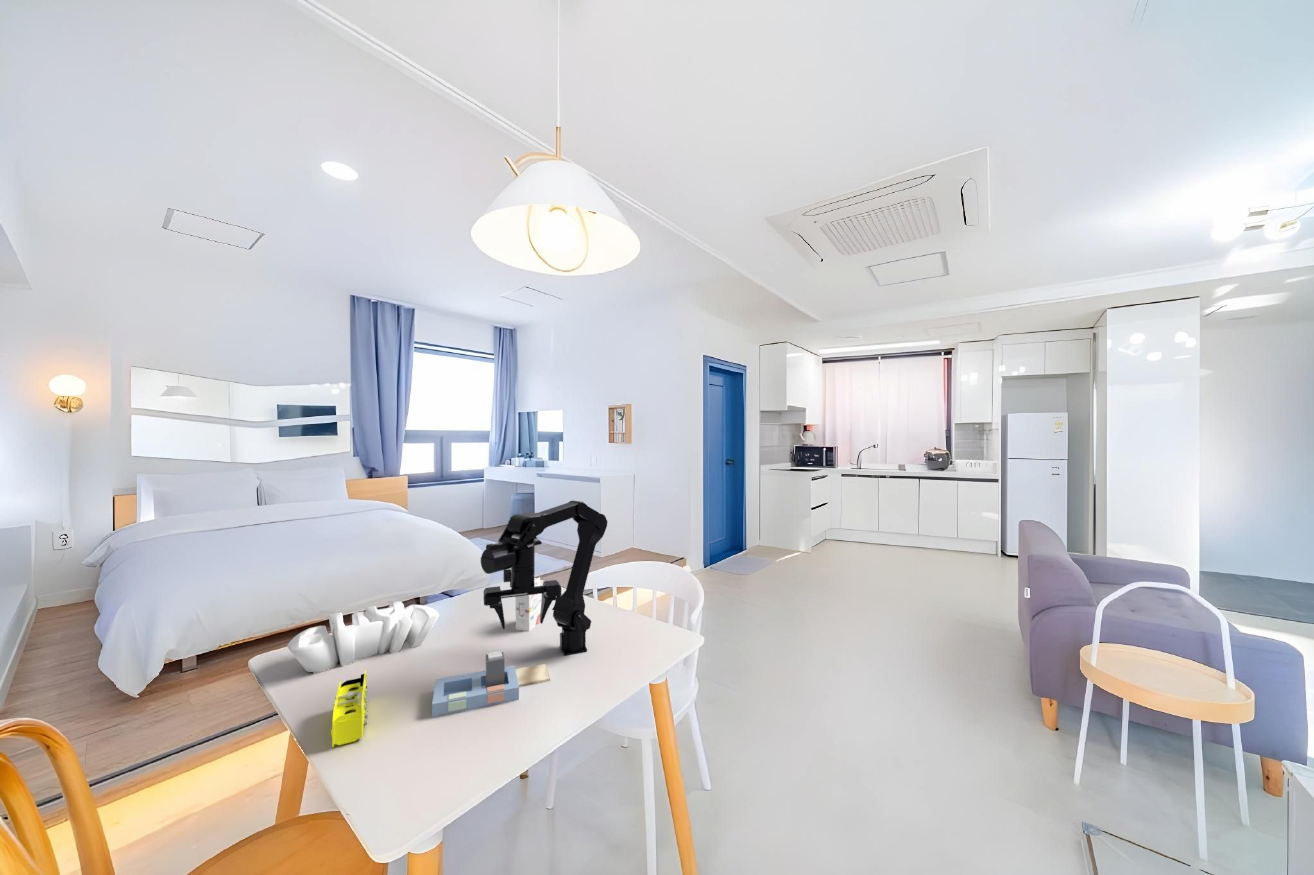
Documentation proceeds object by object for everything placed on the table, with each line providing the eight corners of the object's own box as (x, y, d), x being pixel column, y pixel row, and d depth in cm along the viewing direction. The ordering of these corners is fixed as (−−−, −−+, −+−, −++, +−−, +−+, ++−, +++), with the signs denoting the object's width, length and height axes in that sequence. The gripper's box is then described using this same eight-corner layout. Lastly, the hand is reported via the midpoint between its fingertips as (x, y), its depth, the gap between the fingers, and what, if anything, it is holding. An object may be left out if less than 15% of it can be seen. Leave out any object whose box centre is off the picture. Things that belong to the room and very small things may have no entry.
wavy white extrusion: (430, 627, 146) (430, 594, 146) (441, 646, 133) (441, 610, 133) (289, 658, 125) (289, 619, 126) (286, 684, 112) (286, 641, 112)
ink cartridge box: (527, 620, 152) (527, 575, 152) (541, 621, 151) (541, 576, 151) (514, 630, 144) (514, 583, 144) (529, 632, 143) (529, 584, 143)
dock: (514, 677, 116) (514, 664, 116) (519, 701, 105) (519, 686, 105) (435, 692, 109) (435, 678, 109) (431, 718, 99) (432, 703, 99)
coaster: (545, 666, 121) (545, 663, 121) (550, 681, 114) (550, 678, 114) (513, 672, 118) (513, 669, 118) (516, 688, 111) (516, 685, 111)
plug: (503, 684, 111) (503, 649, 111) (504, 693, 108) (504, 656, 108) (485, 688, 110) (485, 652, 110) (486, 696, 106) (486, 659, 106)
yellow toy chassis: (365, 742, 91) (365, 700, 91) (330, 752, 88) (330, 708, 88) (368, 702, 105) (368, 665, 105) (338, 709, 102) (338, 671, 102)
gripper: (554, 553, 128) (554, 609, 128) (483, 560, 121) (482, 619, 121) (561, 564, 118) (561, 624, 118) (484, 571, 111) (484, 636, 111)
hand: (522, 625), depth 117 cm, fingers open, 9 cm apart
